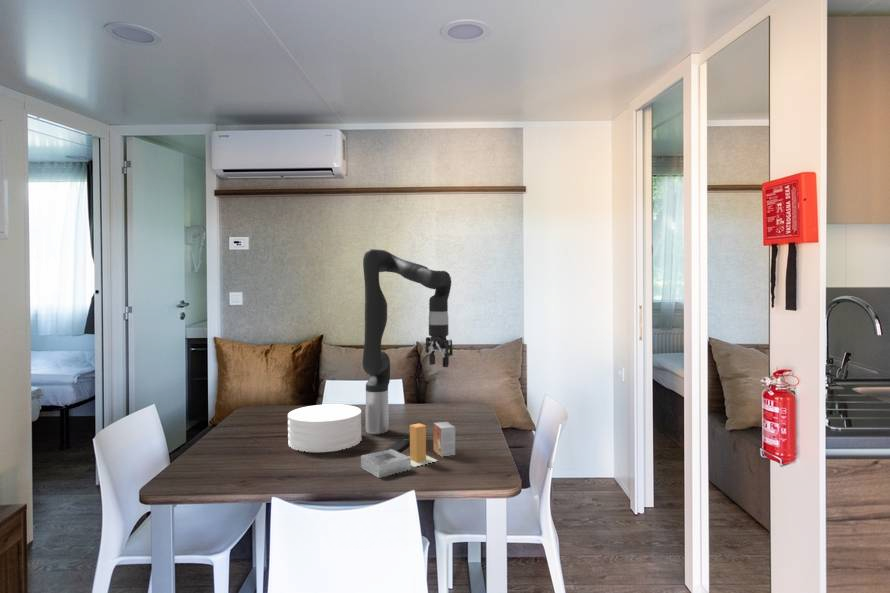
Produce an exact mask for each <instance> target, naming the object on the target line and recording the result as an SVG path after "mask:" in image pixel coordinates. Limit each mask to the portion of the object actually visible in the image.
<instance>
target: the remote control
mask: <svg viewBox="0 0 890 593" xmlns="http://www.w3.org/2000/svg"><path fill="white" fill-rule="evenodd" d="M409 444H410V434H406V435H403V437H402V438H400V439H399V440H397V441H395V442H394V443H392V444H391V445H390V446H388V447H386V448H385V449H383V450H382V451H385V450H389V449H393V450H395V451H397V452H399V453H401V451H403V450H404V449H406V448H407V447H408V446H410V445H409ZM406 446H407V447H406ZM402 449H403V450H402Z"/></svg>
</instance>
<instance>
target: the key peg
mask: <svg viewBox="0 0 890 593" xmlns="http://www.w3.org/2000/svg"><path fill="white" fill-rule="evenodd" d="M409 435H410V445H409V456H410V458H411V460H412V461H414V462H420V461H424V460H426V455H427V426H426V425H425V424H422V423H420V422H418V423H415V424H410V425H409Z"/></svg>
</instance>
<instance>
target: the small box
mask: <svg viewBox="0 0 890 593" xmlns="http://www.w3.org/2000/svg"><path fill="white" fill-rule="evenodd" d="M433 452H435V453H436V454H437V455H438V456H439V455H440V456H441V457H440V456H439V457H440V458H443V457H442V456H449V457H451V456H450V455H455V456H456V427H455V425H452V424H451V423H449V422H448V421H439V422H433Z"/></svg>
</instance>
